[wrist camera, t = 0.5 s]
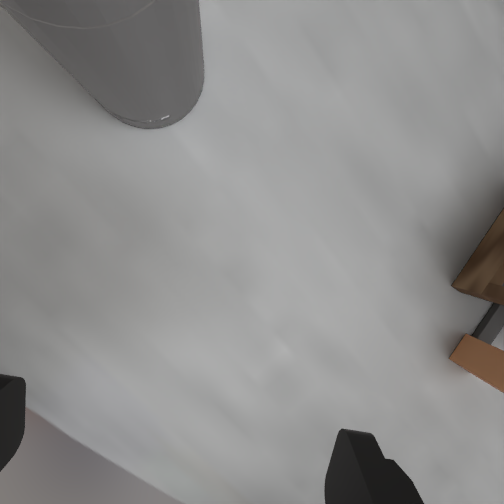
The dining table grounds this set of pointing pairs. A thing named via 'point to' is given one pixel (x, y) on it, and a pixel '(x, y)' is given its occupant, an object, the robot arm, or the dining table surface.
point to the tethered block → (484, 350)
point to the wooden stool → (486, 267)
